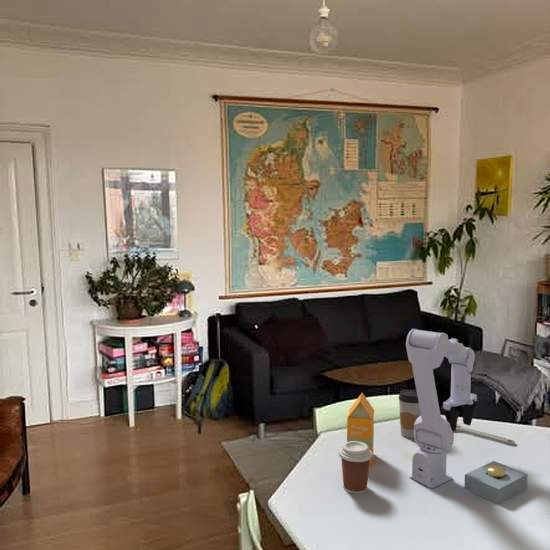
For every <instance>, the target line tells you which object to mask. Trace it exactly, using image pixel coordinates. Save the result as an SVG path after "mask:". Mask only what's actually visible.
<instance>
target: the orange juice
mask: <svg viewBox="0 0 550 550" xmlns="http://www.w3.org/2000/svg"><path fill="white" fill-rule="evenodd" d="M374 416H375V409H374V408H373V406H372V404H371V403H370V401H369V400H368V399H367V398H366V396H365V394H364V393H363V392H361V394H360V395H359V396H358V398H356V400H355V401H354V403H352V405H351V407H350V408H349V410H348V414H347V417H346V423H347V424H346V442H350V441H358V442H362V443H365V444H366V445H367V446H368V448H369V450H371V452H372V458H371V459H370V461H369V467H372V466H373V460H374V459H373V458H374V442H375V441H374V438H375V435H374V433H375V427H374V426H375V425H374V424H375V421H374V420H375V417H374Z"/></svg>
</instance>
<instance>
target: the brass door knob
mask: <svg viewBox="0 0 550 550" xmlns="http://www.w3.org/2000/svg"><path fill="white" fill-rule="evenodd" d="M505 472H506V470H505V469H504V468H503V467H501V466H497V465H489V466H487V470H486V473H487V475H489V476H490V477H493V478H497V479H501V478H504V477H505Z"/></svg>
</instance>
